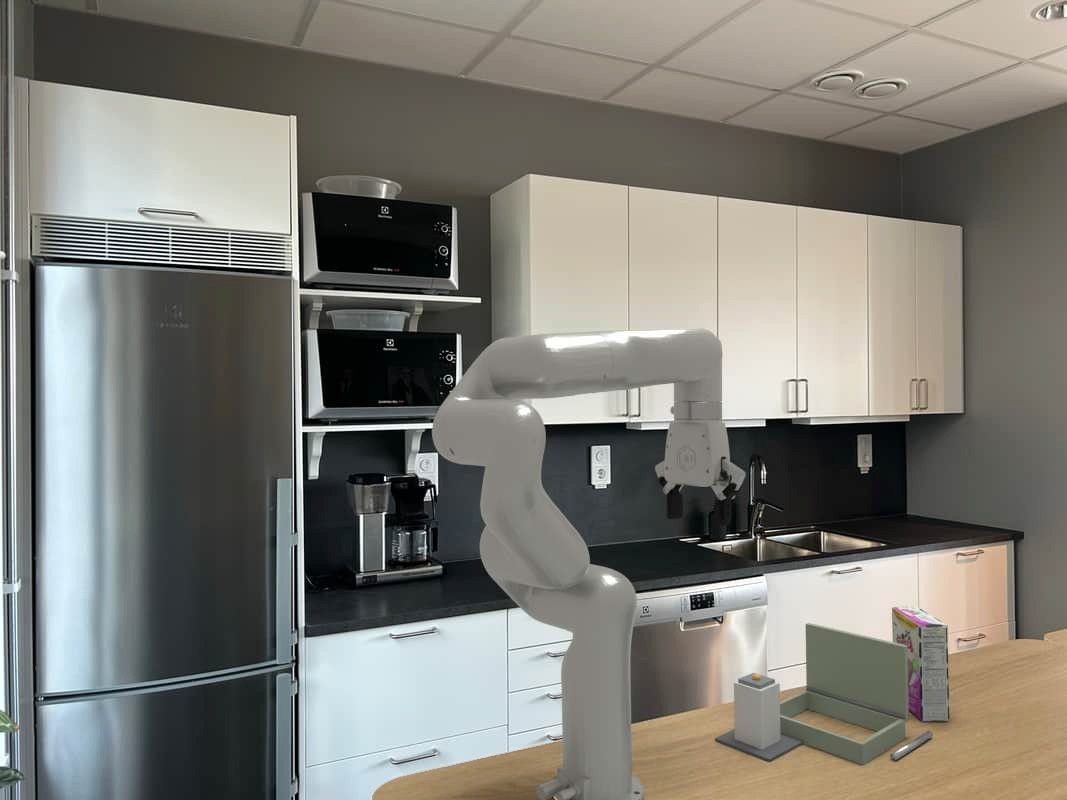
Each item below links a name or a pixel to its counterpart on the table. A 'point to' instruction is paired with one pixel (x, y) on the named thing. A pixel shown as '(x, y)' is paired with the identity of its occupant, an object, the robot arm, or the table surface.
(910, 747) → the rod
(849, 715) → the case
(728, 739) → the mat
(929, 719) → the candy bar box
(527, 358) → the robot arm
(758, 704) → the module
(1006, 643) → the table surface
